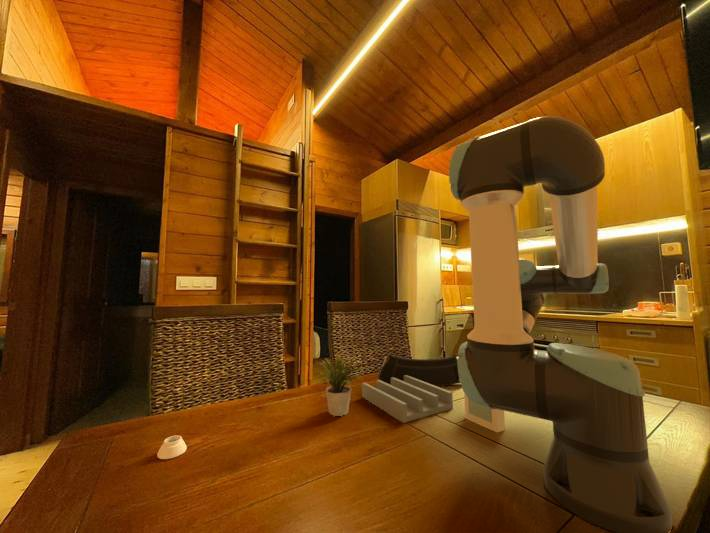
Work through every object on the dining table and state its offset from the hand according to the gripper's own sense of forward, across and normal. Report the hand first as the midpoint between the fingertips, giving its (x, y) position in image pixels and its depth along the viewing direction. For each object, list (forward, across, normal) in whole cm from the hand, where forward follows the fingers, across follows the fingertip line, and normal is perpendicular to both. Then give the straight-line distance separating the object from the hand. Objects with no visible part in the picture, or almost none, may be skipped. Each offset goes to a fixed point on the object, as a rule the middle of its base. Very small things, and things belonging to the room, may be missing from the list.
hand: (484, 391), depth 73 cm
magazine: (+1, +30, -10) cm, 31 cm away
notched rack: (+12, +20, +1) cm, 23 cm away
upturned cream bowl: (+54, +23, +43) cm, 73 cm away
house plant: (+27, +23, +16) cm, 39 cm away
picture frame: (+6, 0, -5) cm, 8 cm away
